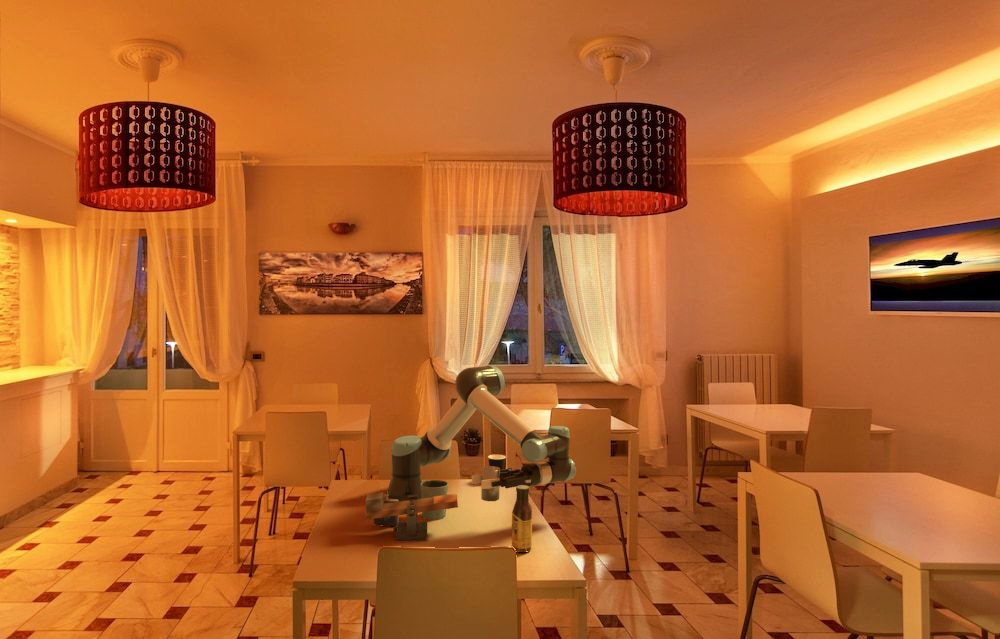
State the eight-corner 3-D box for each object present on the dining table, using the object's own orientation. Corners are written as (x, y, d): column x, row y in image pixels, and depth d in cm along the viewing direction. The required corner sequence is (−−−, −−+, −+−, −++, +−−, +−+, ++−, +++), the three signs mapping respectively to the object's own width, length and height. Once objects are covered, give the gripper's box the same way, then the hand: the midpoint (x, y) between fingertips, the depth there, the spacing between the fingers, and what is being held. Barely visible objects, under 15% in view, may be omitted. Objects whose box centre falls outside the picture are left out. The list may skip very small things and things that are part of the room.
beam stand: (395, 541, 192) (395, 507, 192) (398, 526, 206) (398, 494, 206) (426, 540, 193) (427, 506, 193) (427, 525, 207) (427, 494, 207)
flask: (399, 525, 208) (399, 494, 208) (396, 527, 205) (396, 496, 205) (375, 522, 210) (375, 491, 210) (371, 525, 207) (371, 494, 207)
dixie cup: (491, 484, 259) (492, 459, 259) (484, 480, 266) (484, 455, 266) (508, 482, 262) (508, 457, 262) (500, 478, 269) (501, 453, 269)
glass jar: (477, 499, 198) (478, 469, 198) (487, 494, 204) (487, 465, 204) (493, 502, 195) (494, 471, 195) (502, 497, 201) (503, 467, 201)
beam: (365, 520, 194) (363, 501, 193) (368, 511, 202) (366, 493, 202) (458, 508, 197) (456, 489, 197) (457, 500, 205) (455, 482, 205)
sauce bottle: (510, 546, 189) (511, 483, 189) (530, 546, 189) (530, 483, 189) (512, 554, 182) (513, 489, 182) (533, 554, 183) (533, 489, 183)
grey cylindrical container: (436, 510, 224) (436, 478, 224) (454, 516, 217) (454, 483, 217) (414, 516, 217) (414, 483, 217) (431, 523, 210) (432, 488, 210)
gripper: (551, 492, 200) (490, 501, 189) (520, 477, 217) (463, 486, 205) (551, 469, 200) (491, 478, 189) (521, 457, 217) (464, 464, 205)
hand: (477, 482), depth 197 cm, fingers closed on glass jar, 6 cm apart
